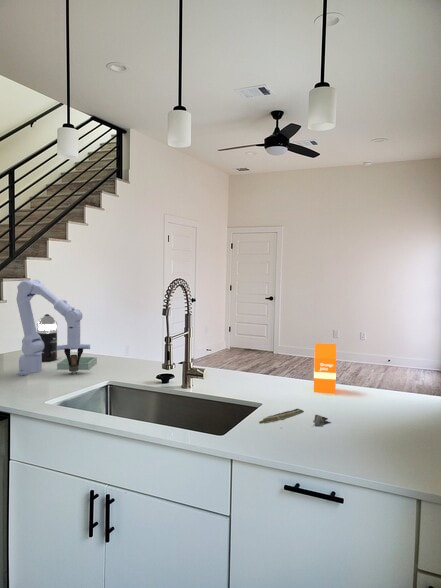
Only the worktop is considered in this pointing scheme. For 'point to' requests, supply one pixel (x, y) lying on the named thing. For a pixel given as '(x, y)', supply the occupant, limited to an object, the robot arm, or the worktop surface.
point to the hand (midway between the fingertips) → (73, 364)
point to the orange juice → (325, 368)
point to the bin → (84, 363)
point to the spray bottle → (48, 337)
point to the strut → (73, 363)
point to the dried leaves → (318, 419)
